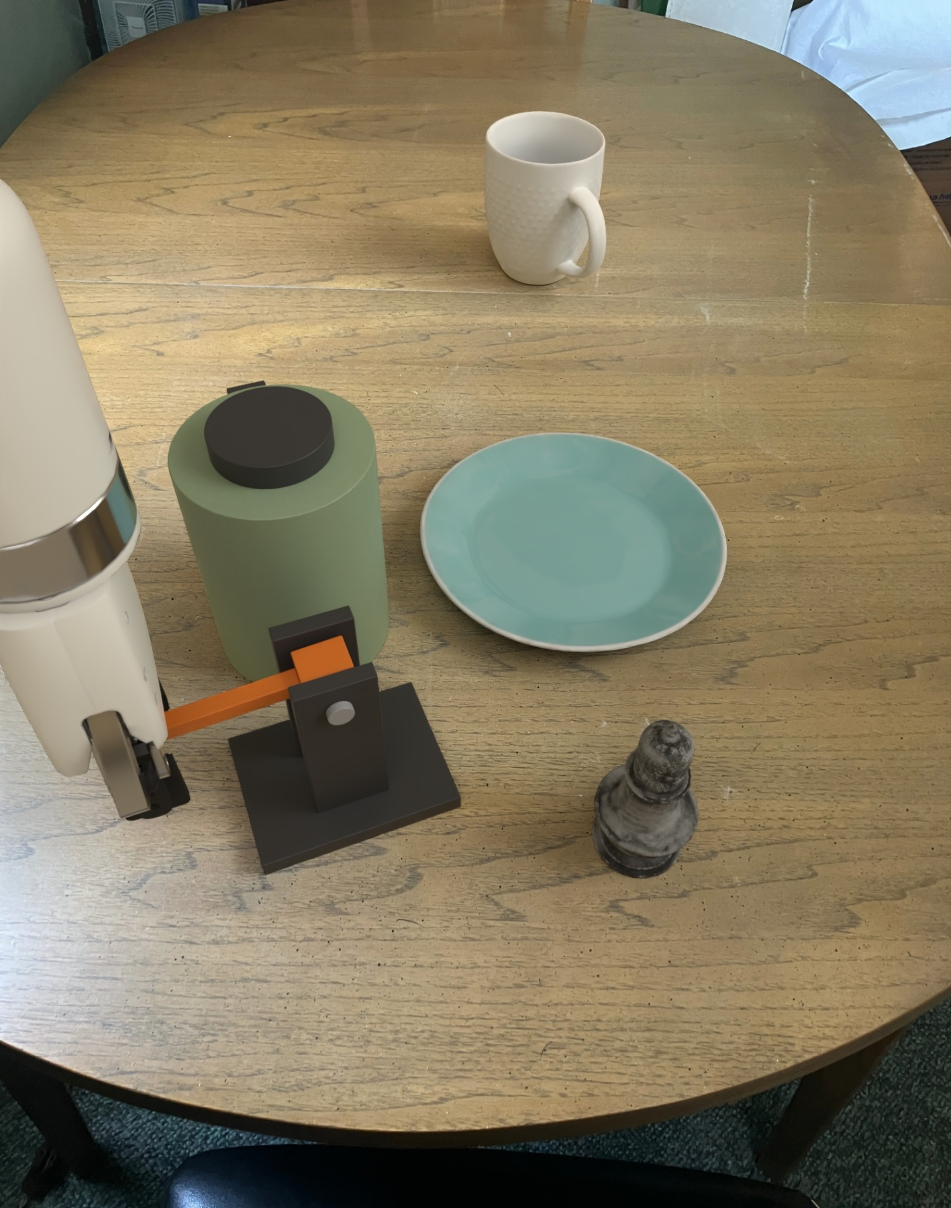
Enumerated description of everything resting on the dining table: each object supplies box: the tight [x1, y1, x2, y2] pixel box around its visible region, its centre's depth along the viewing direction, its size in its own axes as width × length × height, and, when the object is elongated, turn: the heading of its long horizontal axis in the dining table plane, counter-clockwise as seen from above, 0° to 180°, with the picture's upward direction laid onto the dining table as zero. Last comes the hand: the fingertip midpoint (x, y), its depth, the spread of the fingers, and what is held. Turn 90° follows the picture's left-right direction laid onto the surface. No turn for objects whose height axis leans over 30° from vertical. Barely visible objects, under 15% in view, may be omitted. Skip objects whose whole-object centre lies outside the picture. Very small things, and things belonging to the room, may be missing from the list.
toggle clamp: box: [227, 606, 462, 876], centre depth 53 cm, size 12×9×13 cm
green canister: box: [167, 380, 390, 683], centre depth 60 cm, size 12×13×18 cm
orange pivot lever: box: [132, 636, 354, 757], centre depth 49 cm, size 12×5×2 cm, turn 112°
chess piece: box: [591, 719, 700, 879], centre depth 51 cm, size 6×6×12 cm
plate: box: [419, 431, 728, 653], centre depth 69 cm, size 22×22×3 cm
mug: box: [483, 110, 607, 286], centre depth 90 cm, size 15×11×13 cm
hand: (148, 758), depth 49 cm, fingers closed on orange pivot lever, 5 cm apart
